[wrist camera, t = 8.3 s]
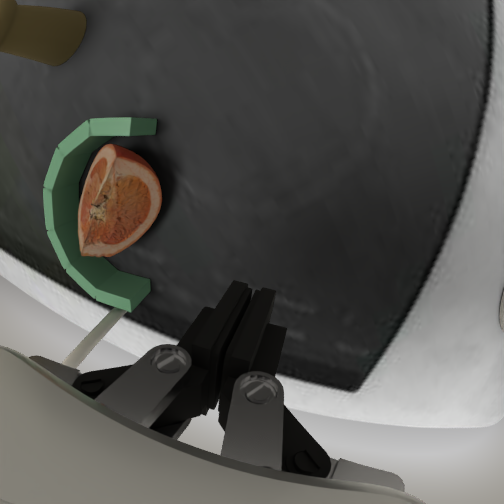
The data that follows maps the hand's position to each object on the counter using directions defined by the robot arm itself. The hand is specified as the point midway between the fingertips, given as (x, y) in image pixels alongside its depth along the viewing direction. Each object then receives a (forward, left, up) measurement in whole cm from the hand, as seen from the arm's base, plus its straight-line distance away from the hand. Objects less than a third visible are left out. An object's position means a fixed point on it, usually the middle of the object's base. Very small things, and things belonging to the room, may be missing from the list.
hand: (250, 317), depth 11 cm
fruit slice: (+12, -1, -10) cm, 16 cm away
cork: (+22, -16, -10) cm, 29 cm away
